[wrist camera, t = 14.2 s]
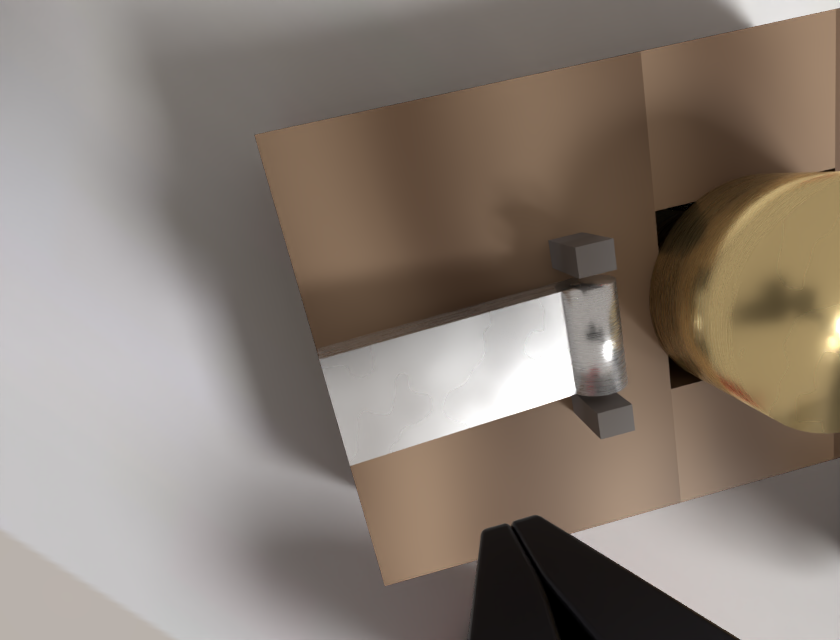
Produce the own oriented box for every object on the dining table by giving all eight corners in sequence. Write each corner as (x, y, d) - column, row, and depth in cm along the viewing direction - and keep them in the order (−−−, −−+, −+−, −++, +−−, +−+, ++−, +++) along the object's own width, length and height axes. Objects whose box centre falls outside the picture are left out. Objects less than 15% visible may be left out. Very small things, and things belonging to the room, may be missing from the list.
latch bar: (594, 271, 15) (628, 280, 13) (606, 367, 16) (640, 385, 14) (317, 348, 14) (320, 367, 12) (346, 448, 14) (352, 478, 13)
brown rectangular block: (767, 42, 19) (988, -34, 12) (776, 388, 23) (949, 470, 16) (280, 148, 18) (239, 126, 11) (377, 496, 21) (388, 632, 15)
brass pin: (567, 197, 19) (726, 205, 11) (725, 160, 20) (991, 141, 12) (588, 355, 21) (739, 461, 13) (733, 317, 21) (968, 397, 13)
